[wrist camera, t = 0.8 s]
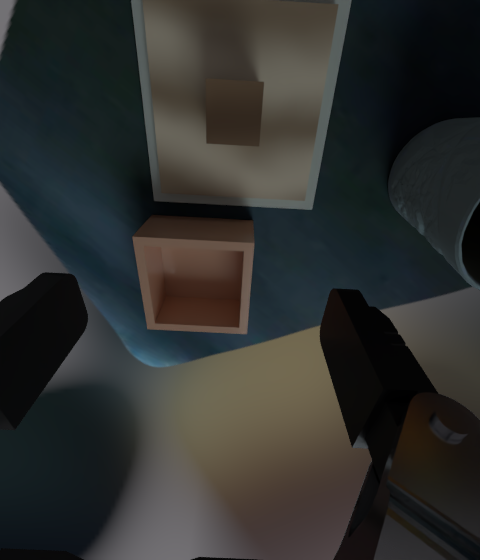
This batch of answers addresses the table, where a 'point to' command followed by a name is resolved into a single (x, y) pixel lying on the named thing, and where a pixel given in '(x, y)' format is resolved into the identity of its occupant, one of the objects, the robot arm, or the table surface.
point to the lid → (237, 93)
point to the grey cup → (443, 191)
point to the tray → (327, 99)
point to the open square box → (195, 273)
